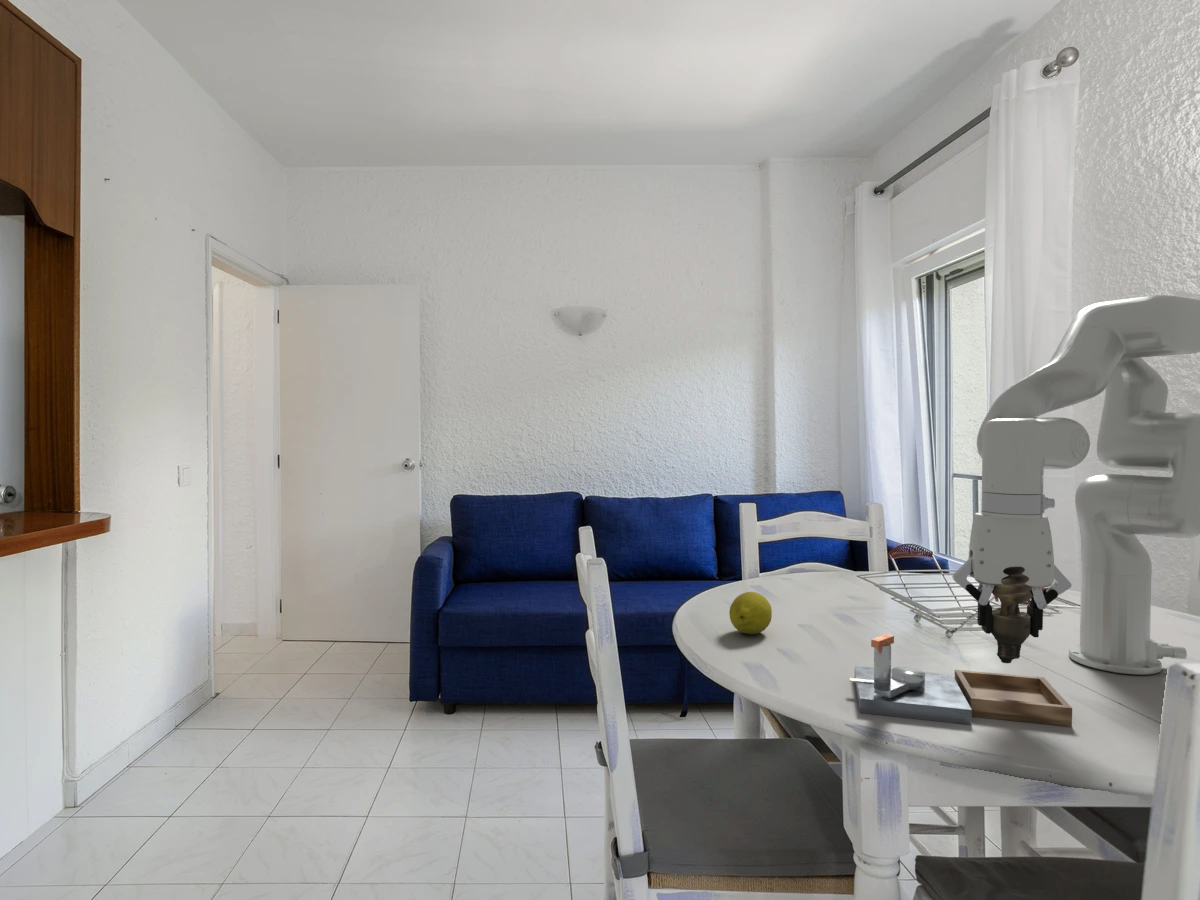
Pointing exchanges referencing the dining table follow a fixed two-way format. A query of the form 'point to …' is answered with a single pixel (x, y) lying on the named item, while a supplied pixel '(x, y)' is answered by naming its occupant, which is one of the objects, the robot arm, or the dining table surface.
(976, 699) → the tray
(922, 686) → the crank
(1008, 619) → the light bulb
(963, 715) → the crank base
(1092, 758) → the dining table surface
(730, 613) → the lemon
